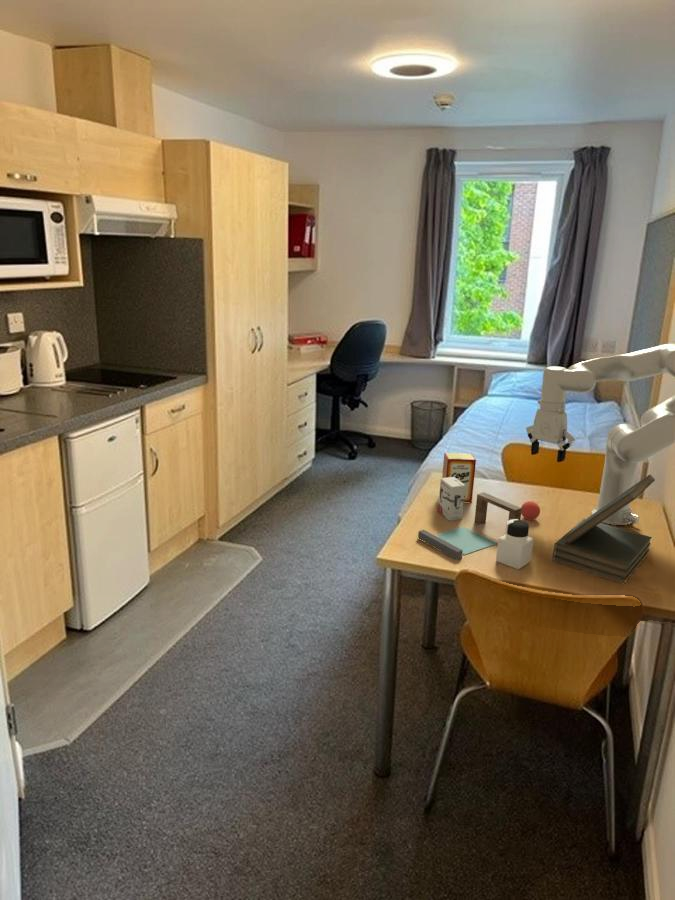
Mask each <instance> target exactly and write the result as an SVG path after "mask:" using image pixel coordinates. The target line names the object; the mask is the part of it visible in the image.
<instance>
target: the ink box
mask: <svg viewBox="0 0 675 900" xmlns="http://www.w3.org/2000/svg"><path fill="white" fill-rule="evenodd" d="M439 481H440V484H439V492H438V493H439V496H438V505H437V511H438V512H439V513H440V514H441V515H442V516H443V517H444V516H445V517H444V518H446V519H447V521H449V520H450V521H459V520H462V519H463V511H464V504H465V503H464V493H465V484H463V483H462V482H460V481H459V480H458V479H456V478H455V477H447V478H442V477H441V478H440V480H439Z"/></svg>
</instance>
